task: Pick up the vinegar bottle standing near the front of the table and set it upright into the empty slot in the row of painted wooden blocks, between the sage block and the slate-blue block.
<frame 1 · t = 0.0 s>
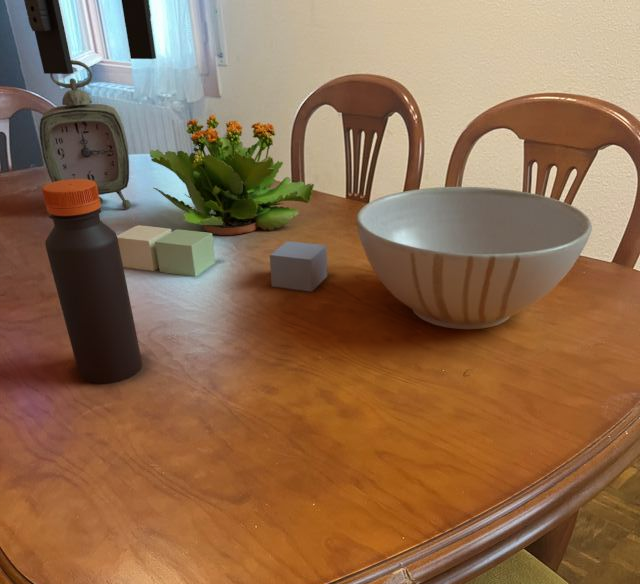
hand: (104, 65, 65), 29 cm above the table, tool pointing down, fingers open, 13 cm apart
sage block: (188, 270, 98), on the table
decorative bowl: (460, 313, 84), on the table
tabletop clock: (99, 208, 127), on the table
potted flower: (227, 229, 115), on the table
cream block: (148, 265, 100), on the table
slate block: (300, 284, 92), on the table
vinegar: (112, 374, 72), on the table
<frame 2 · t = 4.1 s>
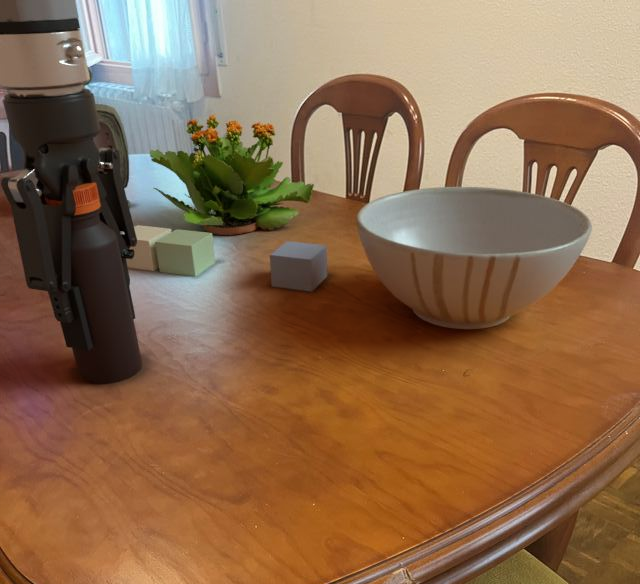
hand: (102, 331, 69), 5 cm above the table, tool pointing down, fingers closed on vinegar, 7 cm apart
vinegar: (112, 374, 72), on the table, touching gripper
everything else where it was.
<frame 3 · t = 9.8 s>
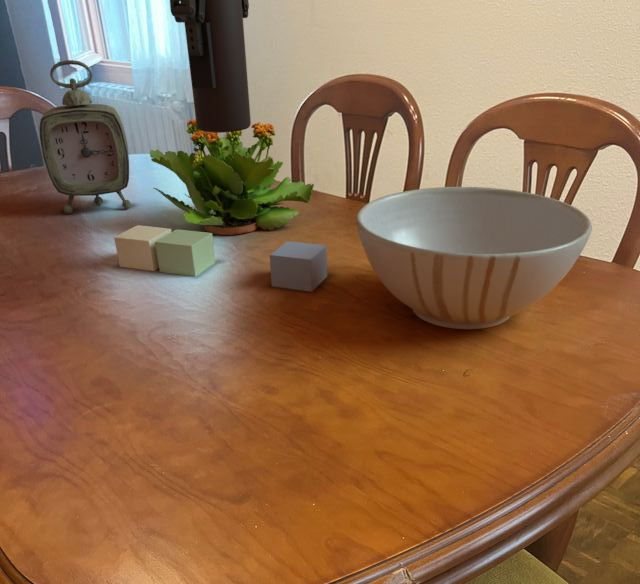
hand: (219, 83, 80), 25 cm above the table, tool pointing down, fingers closed on vinegar, 7 cm apart
vinegar: (224, 129, 83), point 20 cm above the table, touching gripper
everything else where it was.
when the fingers open (5 cm above the table, at t = 15.5 s): vinegar stays where it is, on the table.
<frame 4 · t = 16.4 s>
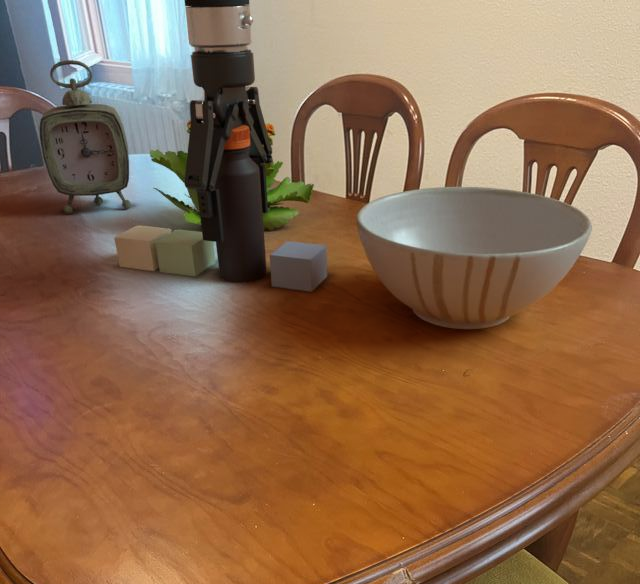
hand: (237, 225, 91), 8 cm above the table, tool pointing down, fingers open, 13 cm apart
vinegar: (243, 278, 95), on the table
everything else where it was.
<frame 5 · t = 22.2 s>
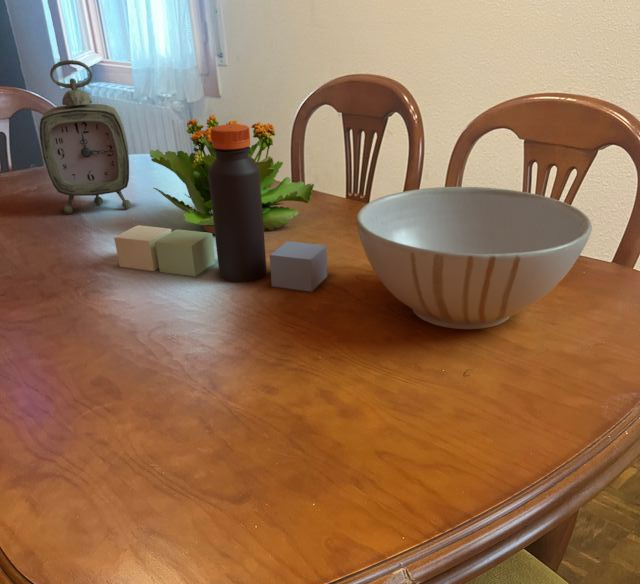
nothing on the table moved.
at the end: vinegar 0.2 cm from the target spot on the table beside the sage block, on the table; vinegar tilted 0°; slate block moved 0.0 cm from its start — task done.
